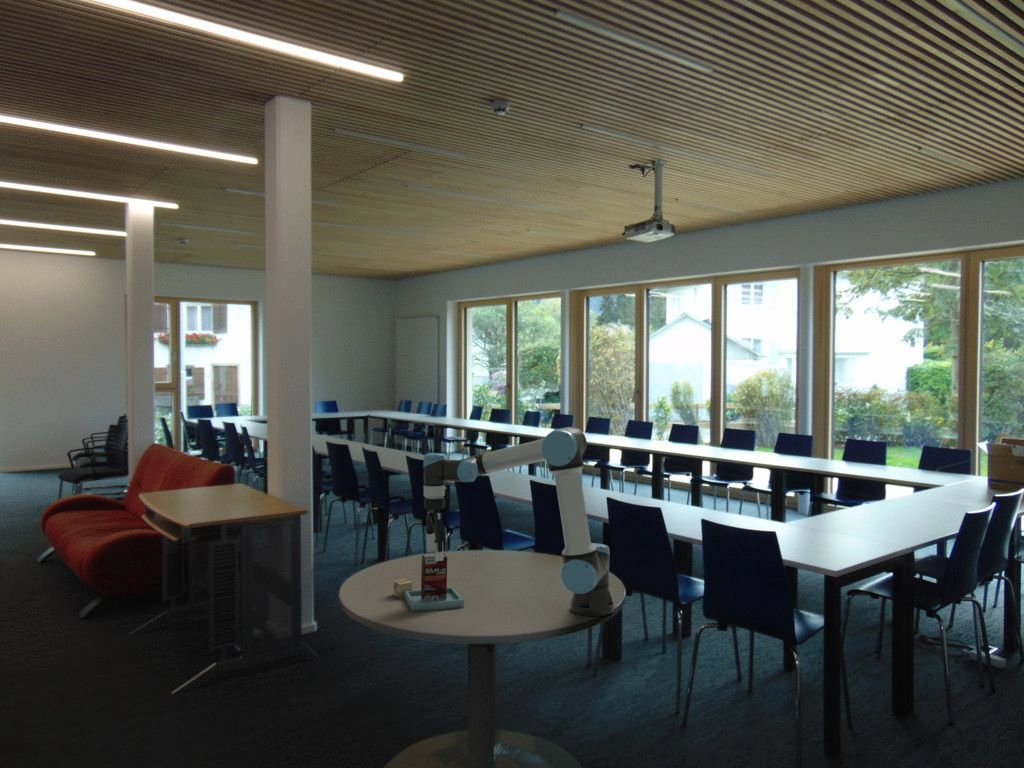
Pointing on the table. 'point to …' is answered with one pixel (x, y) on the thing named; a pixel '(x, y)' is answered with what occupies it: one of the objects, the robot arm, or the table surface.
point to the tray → (418, 604)
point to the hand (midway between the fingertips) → (435, 556)
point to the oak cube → (402, 587)
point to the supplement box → (433, 579)
